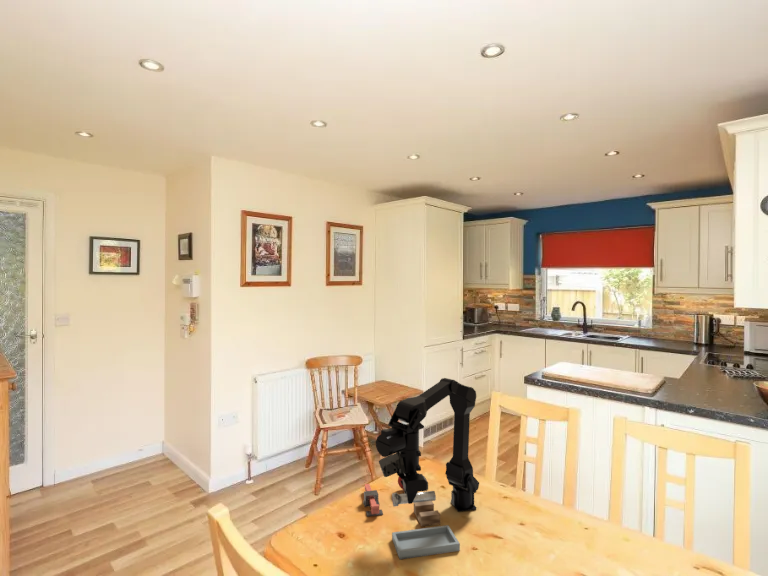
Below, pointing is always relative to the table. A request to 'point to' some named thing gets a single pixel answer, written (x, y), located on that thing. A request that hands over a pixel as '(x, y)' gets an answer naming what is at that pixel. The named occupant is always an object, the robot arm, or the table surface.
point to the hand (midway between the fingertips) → (408, 500)
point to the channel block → (426, 513)
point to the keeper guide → (367, 504)
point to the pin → (419, 497)
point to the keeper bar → (372, 501)
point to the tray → (425, 542)
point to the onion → (400, 482)
